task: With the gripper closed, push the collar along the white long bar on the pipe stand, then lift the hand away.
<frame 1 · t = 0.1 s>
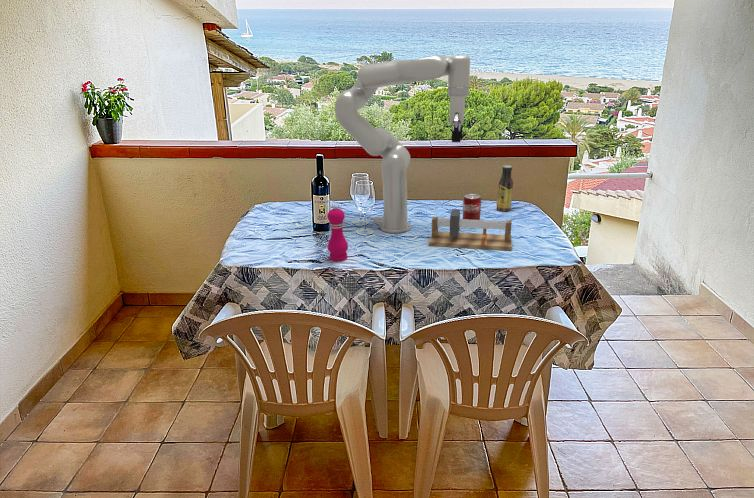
hand: (456, 139, 194), 37 cm above the table, tool pointing down, fingers open, 9 cm apart
pepper mill: (338, 258, 185), on the table
soda can: (471, 224, 215), on the table
sauce bottle: (503, 210, 231), on the table
collar: (454, 222, 194), point 7 cm above the table, slide at 0.0 cm
white long bar: (471, 223, 193), point 8 cm above the table
pipe stand: (470, 242, 196), on the table
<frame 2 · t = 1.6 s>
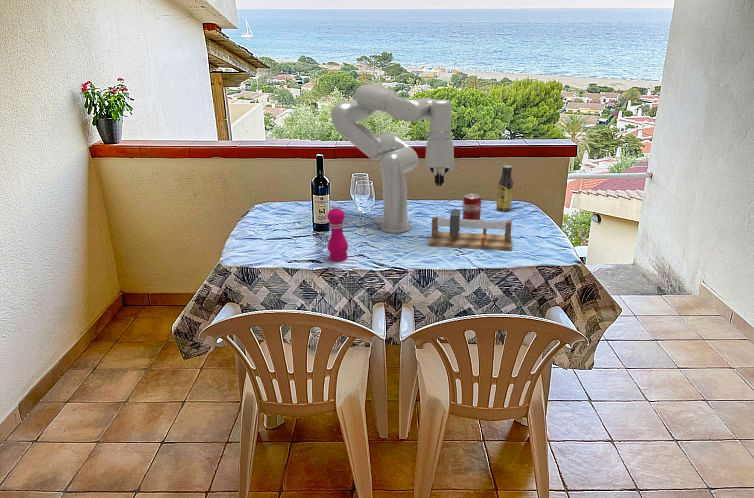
hand: (439, 184, 193), 21 cm above the table, tool pointing down, fingers closed
nothing on the table moved.
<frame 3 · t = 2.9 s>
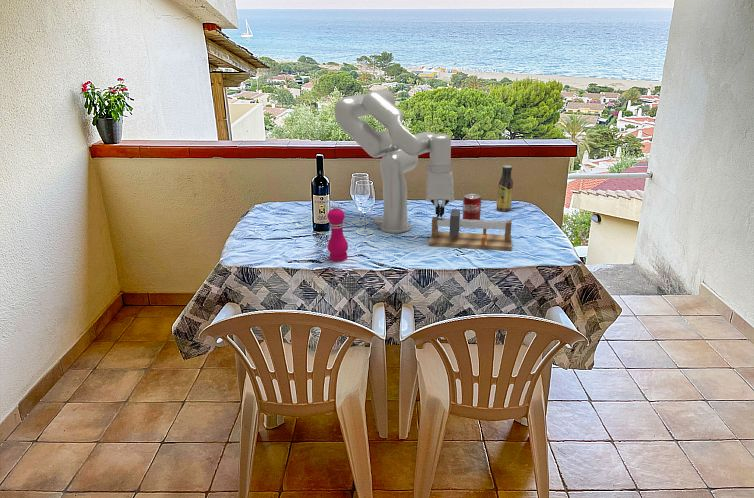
hand: (439, 215, 198), 9 cm above the table, tool pointing down, fingers closed
nothing on the table moved.
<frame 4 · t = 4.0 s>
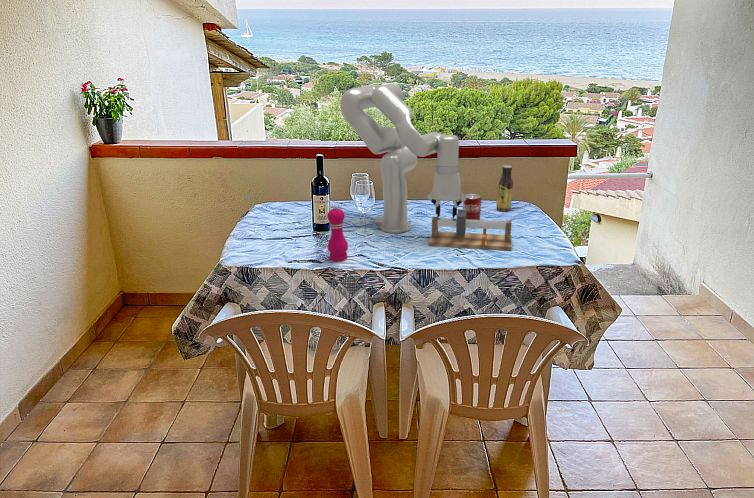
hand: (446, 215, 197), 9 cm above the table, tool pointing down, fingers open, 5 cm apart
collar: (461, 223, 194), point 7 cm above the table, slide at 2.4 cm, touching gripper
everything else where it was.
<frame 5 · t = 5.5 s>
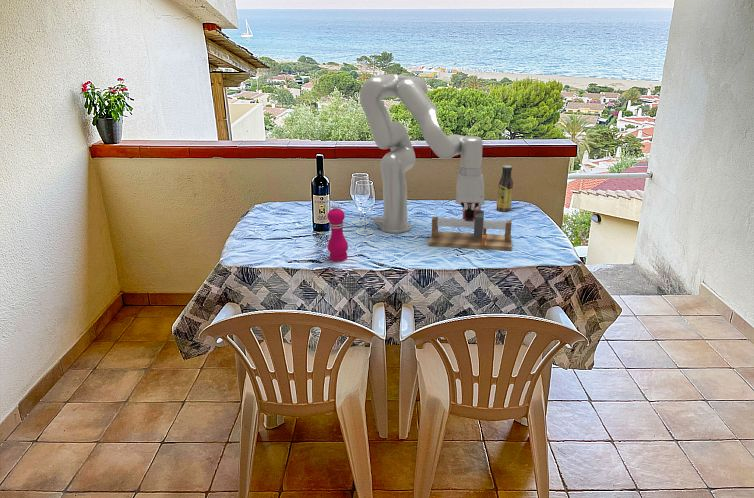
hand: (469, 218, 196), 8 cm above the table, tool pointing down, fingers closed
collar: (478, 224, 193), point 7 cm above the table, slide at 8.9 cm, touching gripper
everything else where it was.
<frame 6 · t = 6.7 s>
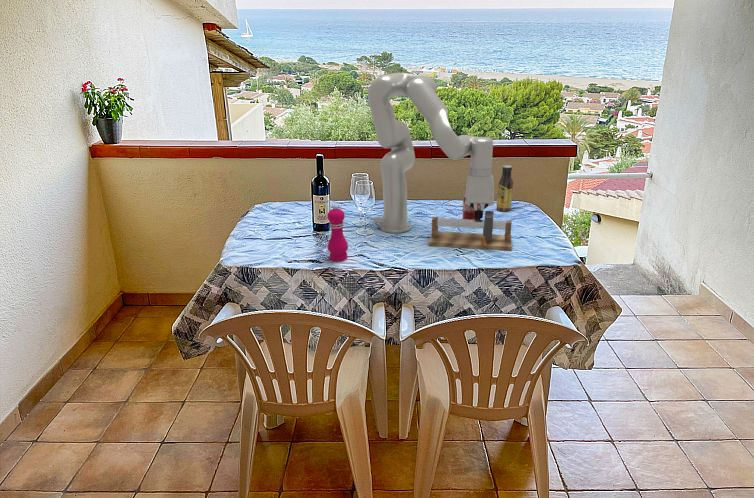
hand: (478, 219, 195), 8 cm above the table, tool pointing down, fingers closed
collar: (488, 224, 192), point 7 cm above the table, slide at 12.4 cm, touching gripper
everything else where it was.
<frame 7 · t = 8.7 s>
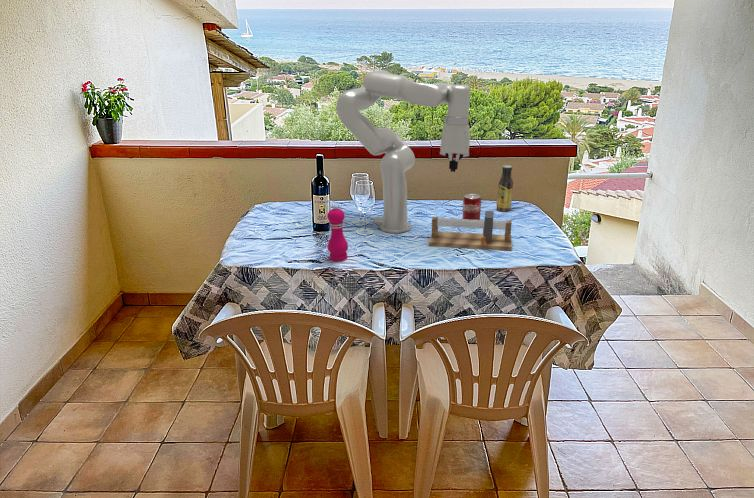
hand: (453, 170, 193), 26 cm above the table, tool pointing down, fingers closed
collar: (488, 224, 192), point 7 cm above the table, slide at 12.4 cm
everything else where it was.
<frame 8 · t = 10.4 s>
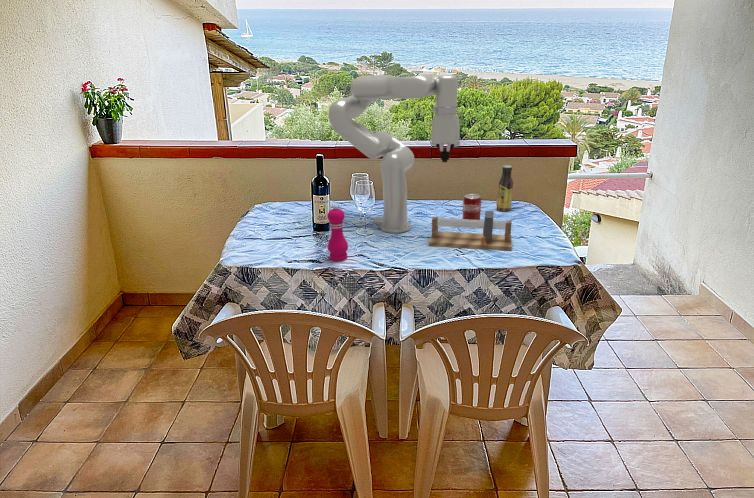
hand: (444, 161, 194), 29 cm above the table, tool pointing down, fingers closed
nothing on the table moved.
at the end: collar slide at 12.4 cm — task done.
